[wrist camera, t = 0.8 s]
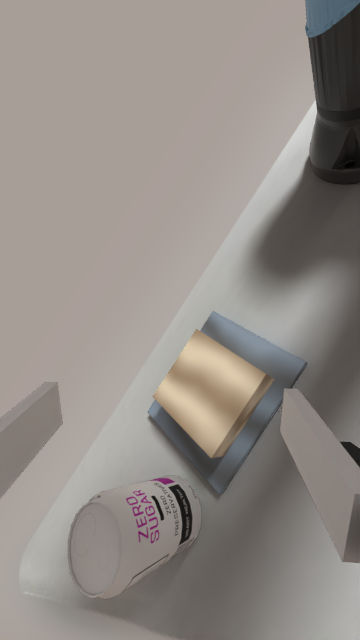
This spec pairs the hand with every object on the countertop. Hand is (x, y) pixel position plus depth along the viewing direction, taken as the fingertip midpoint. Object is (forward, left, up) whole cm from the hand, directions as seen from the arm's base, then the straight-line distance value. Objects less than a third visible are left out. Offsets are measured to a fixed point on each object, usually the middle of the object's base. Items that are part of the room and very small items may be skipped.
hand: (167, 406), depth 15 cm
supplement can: (+17, +7, -24) cm, 30 cm away
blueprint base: (+6, -6, -24) cm, 25 cm away
